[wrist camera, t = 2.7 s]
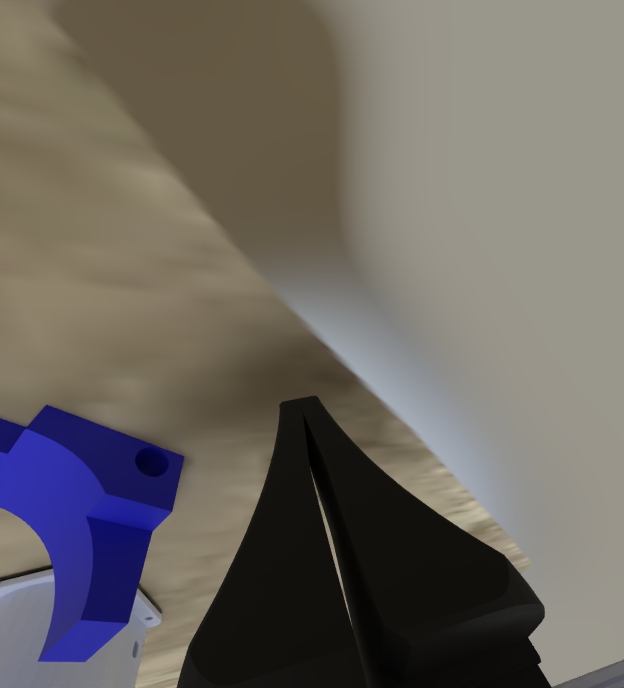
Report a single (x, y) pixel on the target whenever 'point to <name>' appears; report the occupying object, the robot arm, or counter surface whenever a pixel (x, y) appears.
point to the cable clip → (86, 518)
